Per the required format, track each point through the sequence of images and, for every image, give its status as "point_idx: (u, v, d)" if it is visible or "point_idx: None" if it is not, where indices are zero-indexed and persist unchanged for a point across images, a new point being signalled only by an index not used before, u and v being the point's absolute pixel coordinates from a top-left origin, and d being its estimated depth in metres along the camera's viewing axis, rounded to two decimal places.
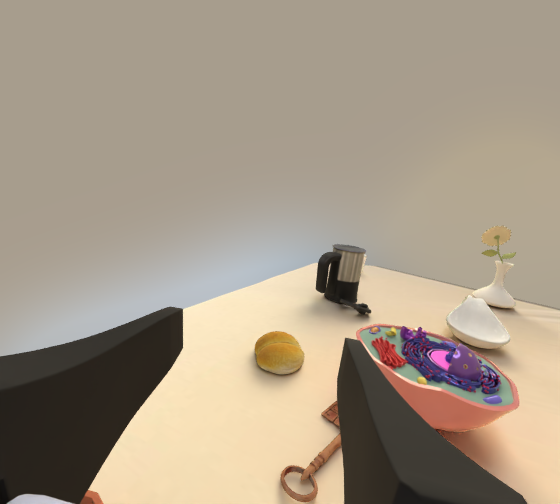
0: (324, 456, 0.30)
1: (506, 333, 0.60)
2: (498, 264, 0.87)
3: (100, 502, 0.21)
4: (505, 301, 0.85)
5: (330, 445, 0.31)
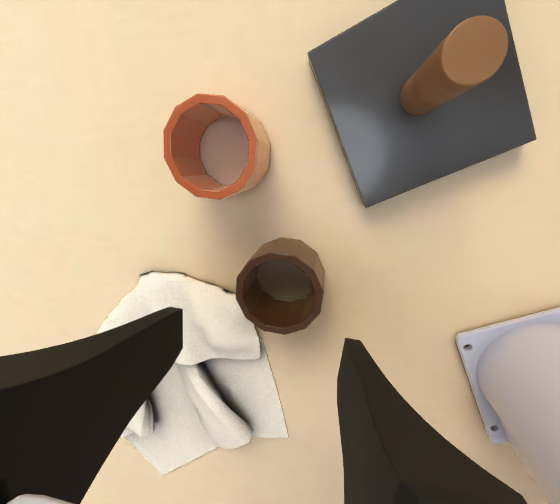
0: None
1: None
2: None
3: (214, 97, 0.14)
4: None
5: None
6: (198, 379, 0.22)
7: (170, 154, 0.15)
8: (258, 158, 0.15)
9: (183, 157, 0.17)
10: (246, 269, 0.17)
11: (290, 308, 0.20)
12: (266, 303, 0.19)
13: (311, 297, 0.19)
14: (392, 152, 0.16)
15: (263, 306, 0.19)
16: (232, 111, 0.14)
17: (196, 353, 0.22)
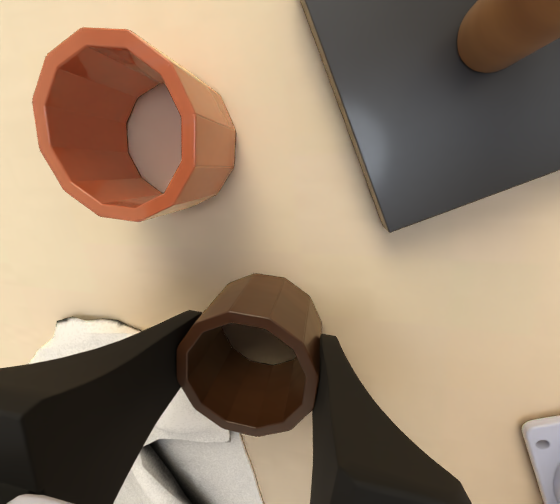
0: None
1: None
2: None
3: (112, 33, 0.07)
4: None
5: None
6: (142, 469, 0.15)
7: (50, 143, 0.09)
8: (203, 150, 0.09)
9: (85, 149, 0.10)
10: (190, 336, 0.10)
11: (271, 379, 0.13)
12: (234, 372, 0.13)
13: (301, 367, 0.12)
14: (439, 140, 0.09)
15: (227, 380, 0.12)
16: (147, 60, 0.08)
17: None
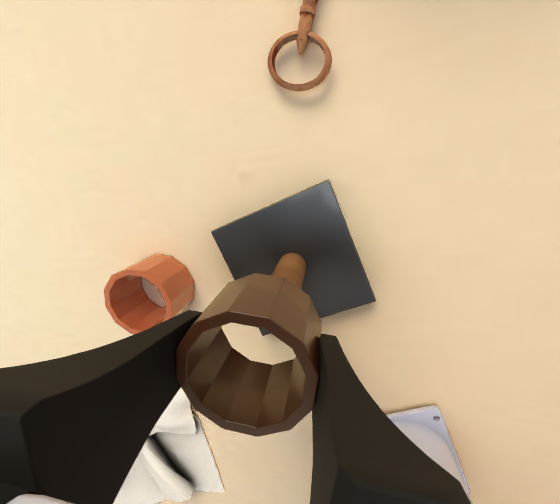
0: None
1: None
2: None
3: (138, 272, 0.19)
4: None
5: None
6: (147, 449, 0.27)
7: (110, 304, 0.21)
8: (174, 309, 0.20)
9: (123, 298, 0.22)
10: (190, 336, 0.10)
11: (270, 378, 0.13)
12: (233, 372, 0.13)
13: (301, 366, 0.12)
14: None
15: (227, 379, 0.12)
16: (151, 282, 0.19)
17: None
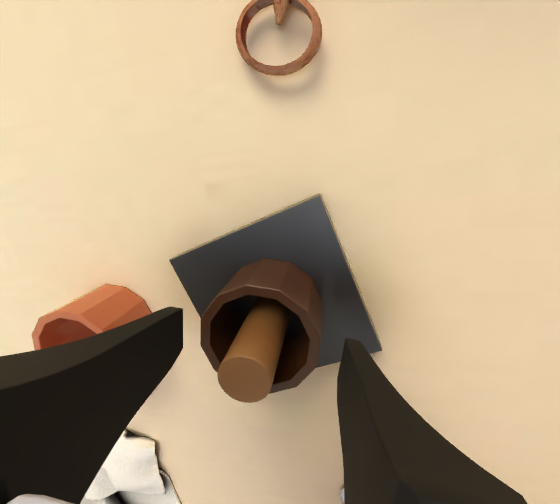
0: None
1: None
2: None
3: (72, 315, 0.15)
4: None
5: None
6: None
7: None
8: None
9: (62, 342, 0.17)
10: (213, 307, 0.12)
11: None
12: None
13: (305, 338, 0.14)
14: None
15: None
16: (90, 328, 0.15)
17: (104, 488, 0.23)
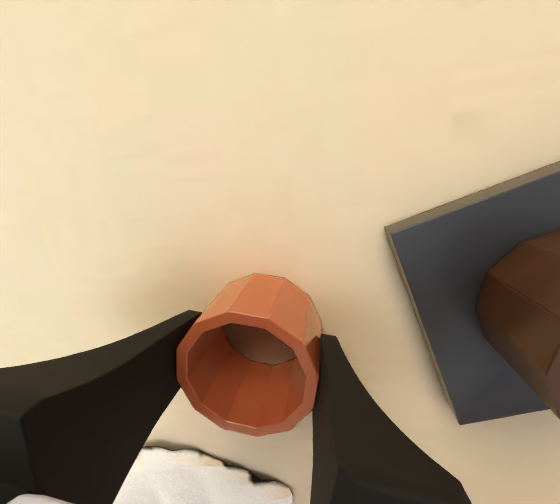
0: None
1: None
2: None
3: (255, 319, 0.09)
4: None
5: None
6: None
7: (186, 375, 0.11)
8: None
9: (202, 357, 0.12)
10: None
11: None
12: None
13: None
14: (508, 367, 0.11)
15: None
16: (282, 339, 0.09)
17: None
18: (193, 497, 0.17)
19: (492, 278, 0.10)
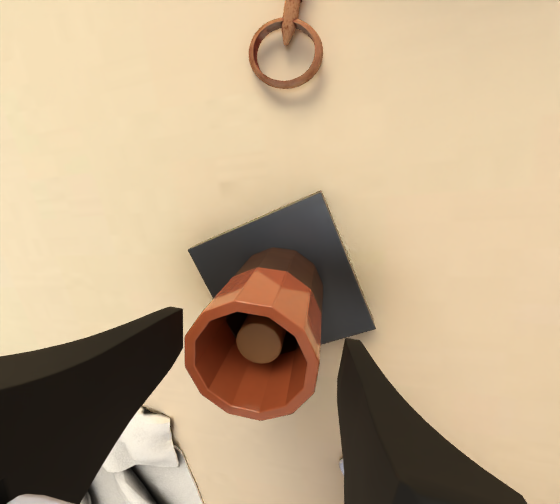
0: None
1: None
2: None
3: (259, 307, 0.10)
4: None
5: None
6: (124, 484, 0.25)
7: (194, 362, 0.11)
8: None
9: (208, 346, 0.12)
10: None
11: None
12: None
13: None
14: None
15: None
16: (285, 327, 0.10)
17: (122, 461, 0.25)
18: None
19: None
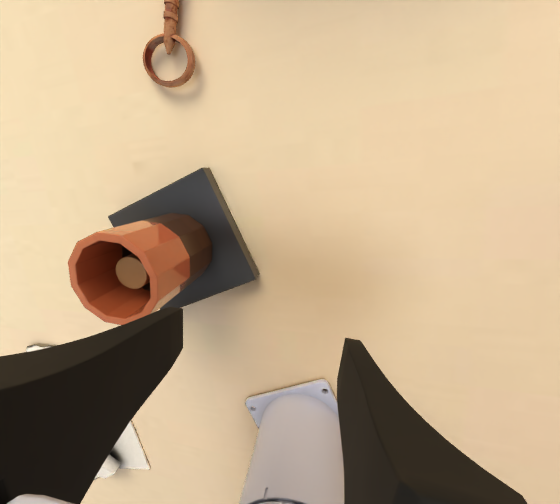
0: None
1: None
2: None
3: (112, 236, 0.14)
4: None
5: None
6: None
7: (77, 282, 0.15)
8: (163, 288, 0.15)
9: (96, 276, 0.17)
10: None
11: None
12: None
13: None
14: None
15: None
16: (131, 250, 0.14)
17: None
18: None
19: None
